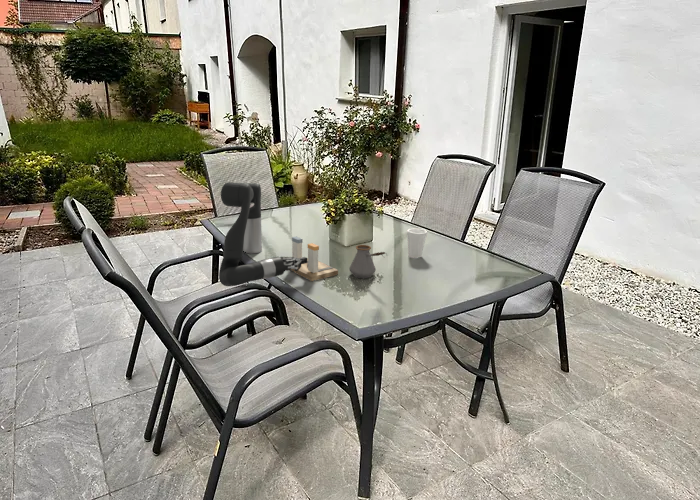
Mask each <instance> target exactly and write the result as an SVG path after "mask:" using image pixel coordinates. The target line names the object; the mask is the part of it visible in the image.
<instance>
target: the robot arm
mask: <svg viewBox="0 0 700 500" xmlns="http://www.w3.org/2000/svg"><path fill="white" fill-rule="evenodd" d="M220 199H221V202H222V204H223V205H224V206H226V207H232V208H234V207H235V208H241V209H240V212H239V215H238V217H237V219H236V220H235V222H234V223H233V225H232V226H231V227H230V229H229V230H228V231H227V233H226V234H225V237H224V242H223V243H224V245H223V257H222V259H221V260H222V261H221V263H220V267H219V272H218V278H219V279H218V280H219V282H220V283H221V285H223V286H225V287H235V286H240V285H243V284H246V283H249V282H255V281H259V280H264V279H271V278H273V277H275V278H276V277H279V276H282V275H284V273H285V272H286V271H291V269H294V270H295V271H298V270H299V269H300V267H301V264H304V263H307V258H308V257H306V256H302V258H294V257H292V256H275V257H274V256H273V257H269V258H265V259H261V260H259V261H258V260H257V261H254V262H249V263H246V264H242V265H239V262H241V260H242V259H243V255H244V253H245V252H246V253H245V254H259V253H261V252H262V251H263V238H262V237H263V234H262V233H263V232H262V231H263V230H262V188H261V185H260V183H256V182H255V183H252V182H251V183H248V182H232V181H231V182H230V181H229V182H226V183H224V184H223V185H222V187H221V190H220ZM251 204H253V205H252V206H251ZM243 251H244V252H243Z"/></svg>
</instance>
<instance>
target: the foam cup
mask: <svg viewBox="0 0 700 500" xmlns="http://www.w3.org/2000/svg"><path fill="white" fill-rule="evenodd" d="M427 234H428V231H427V230H426V229H423V228H408V229H407V233H406V236H407V251H408V252H407V253H408V257H409V258H411V259H419V258H418V257H421V258H422V255H423V251H424V247H425V243H426V238H427Z"/></svg>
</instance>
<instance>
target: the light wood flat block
mask: <svg viewBox="0 0 700 500" xmlns="http://www.w3.org/2000/svg"><path fill="white" fill-rule="evenodd" d="M306 258H307V263H304V264H301V267H300V269H299V270H298V271H295V270H294V269H291V270H292V271H291V270H290V271H291V272H293V271H294V273H295V274H297V275H298V276H300V275H301V277H302V276H303V278H304V277H305V278H304V279H306V278H307V279H306V280H308V279H309V280H308V281H309V282H314V280H315V281H318V279H319V280H322V279H326V278H329V277H334V276H336V275H338V274H339V269H337V268H334V267H332V266H330V265H328V264H326V263H324V262H322V261H319V260H318V272H316V273H312V272H310V271H308V257H306Z"/></svg>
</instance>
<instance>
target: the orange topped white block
mask: <svg viewBox="0 0 700 500" xmlns="http://www.w3.org/2000/svg"><path fill="white" fill-rule="evenodd" d="M319 250H320V246H319V245H317V244H315V243H314V242H311V243H308V244H307V258H308V271H310V272H312V273H316V272H318V261H319Z"/></svg>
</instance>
